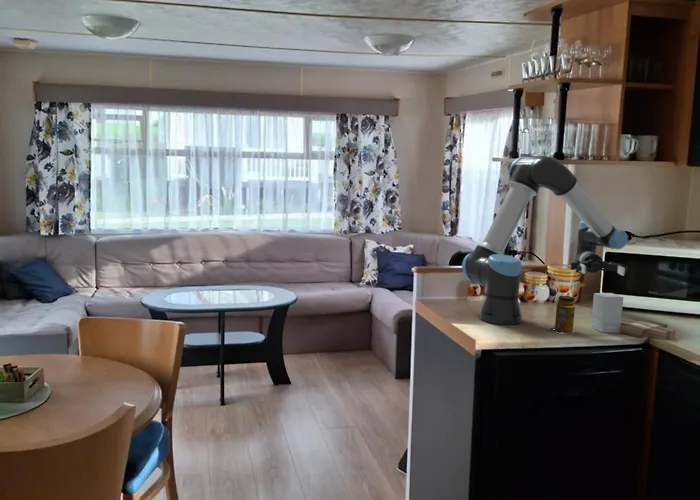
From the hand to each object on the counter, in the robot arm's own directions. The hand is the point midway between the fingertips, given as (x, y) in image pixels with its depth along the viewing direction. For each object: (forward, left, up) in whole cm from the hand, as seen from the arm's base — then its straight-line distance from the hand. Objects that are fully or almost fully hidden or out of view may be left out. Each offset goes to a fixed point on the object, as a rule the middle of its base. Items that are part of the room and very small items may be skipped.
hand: (603, 271), depth 236 cm
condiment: (-16, -16, -20) cm, 30 cm away
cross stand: (+13, -10, -19) cm, 25 cm away
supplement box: (0, -10, -20) cm, 22 cm away
